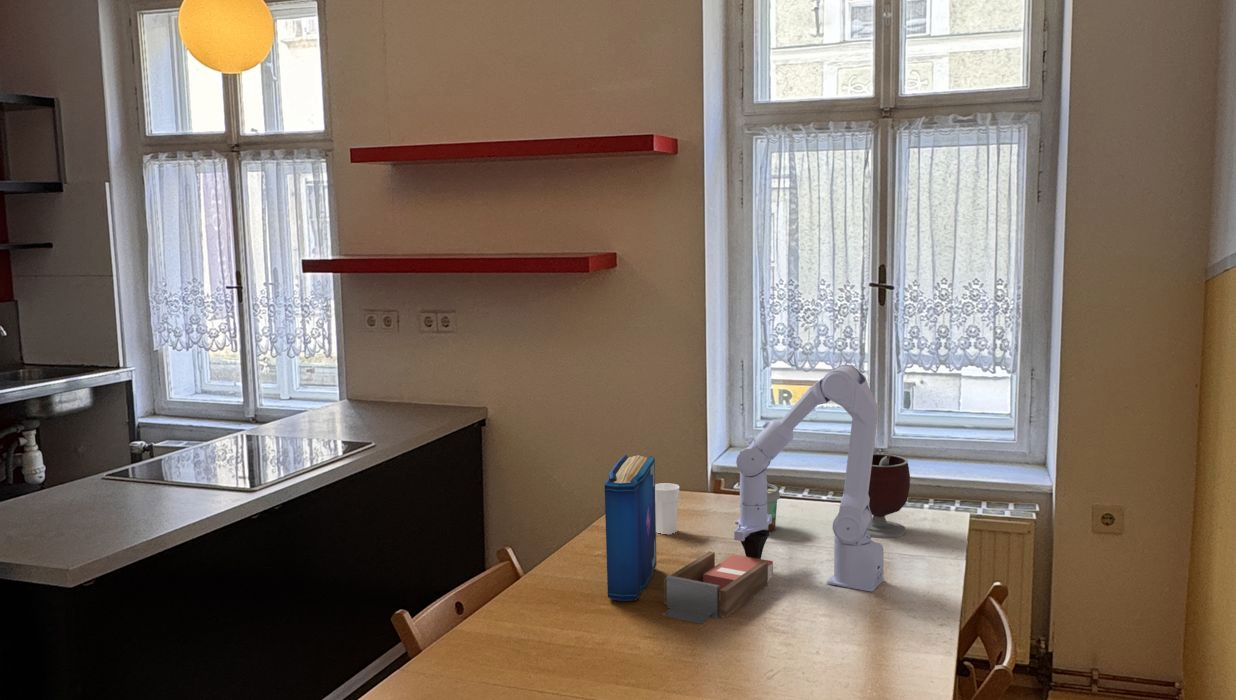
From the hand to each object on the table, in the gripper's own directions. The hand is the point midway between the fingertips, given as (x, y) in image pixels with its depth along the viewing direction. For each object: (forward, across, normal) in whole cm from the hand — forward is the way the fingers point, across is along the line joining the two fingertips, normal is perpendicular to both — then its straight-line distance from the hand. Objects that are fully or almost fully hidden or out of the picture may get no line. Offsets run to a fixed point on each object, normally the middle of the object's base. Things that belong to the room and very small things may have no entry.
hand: (753, 564), depth 210 cm
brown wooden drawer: (+1, +17, 0) cm, 17 cm away
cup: (+1, -14, -30) cm, 33 cm away
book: (+1, +21, -18) cm, 27 cm away
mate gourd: (+1, -39, +14) cm, 42 cm away
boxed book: (+2, +8, 0) cm, 8 cm away
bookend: (+1, +29, 0) cm, 29 cm away
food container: (+1, -28, -10) cm, 30 cm away
